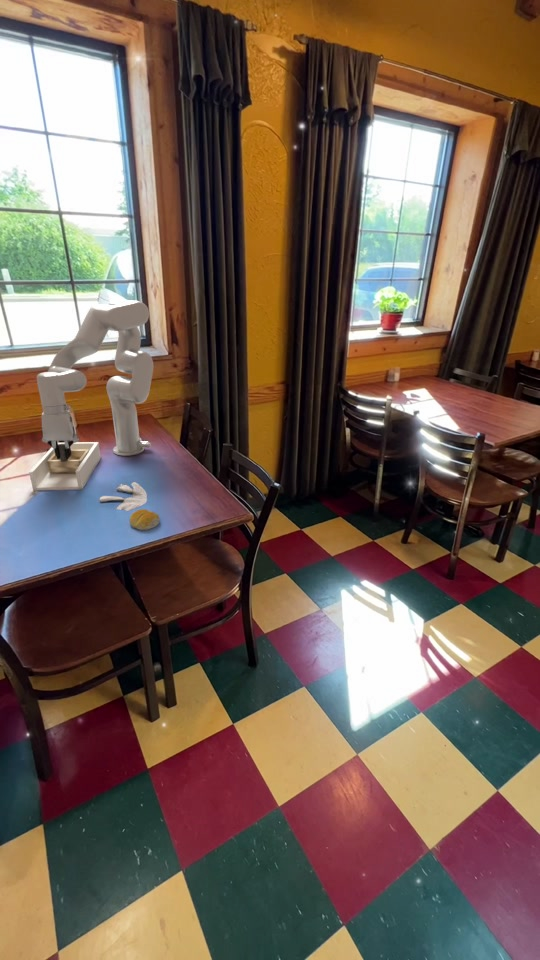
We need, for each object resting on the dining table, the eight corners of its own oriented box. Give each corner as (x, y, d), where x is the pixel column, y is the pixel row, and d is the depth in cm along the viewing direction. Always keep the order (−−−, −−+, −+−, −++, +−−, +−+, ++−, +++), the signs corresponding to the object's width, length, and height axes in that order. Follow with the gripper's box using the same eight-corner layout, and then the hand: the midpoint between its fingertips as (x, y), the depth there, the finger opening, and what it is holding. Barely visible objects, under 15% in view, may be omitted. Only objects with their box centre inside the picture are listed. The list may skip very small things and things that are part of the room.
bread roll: (143, 513, 142) (142, 502, 140) (164, 522, 138) (163, 511, 136) (123, 524, 136) (122, 513, 134) (144, 534, 131) (142, 522, 130)
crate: (90, 461, 174) (86, 434, 169) (82, 473, 163) (78, 446, 159) (59, 461, 173) (53, 435, 168) (48, 474, 162) (43, 446, 157)
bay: (100, 458, 180) (98, 442, 177) (82, 489, 155) (79, 471, 152) (59, 458, 178) (55, 442, 175) (33, 490, 153) (29, 472, 150)
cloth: (131, 517, 141) (130, 510, 140) (76, 503, 147) (75, 497, 146) (166, 490, 158) (166, 484, 157) (115, 479, 165) (115, 473, 164)
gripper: (81, 405, 157) (89, 453, 165) (34, 405, 156) (44, 454, 164) (75, 411, 151) (84, 461, 159) (26, 412, 149) (37, 462, 157)
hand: (64, 457), depth 161 cm, fingers closed on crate, 2 cm apart
